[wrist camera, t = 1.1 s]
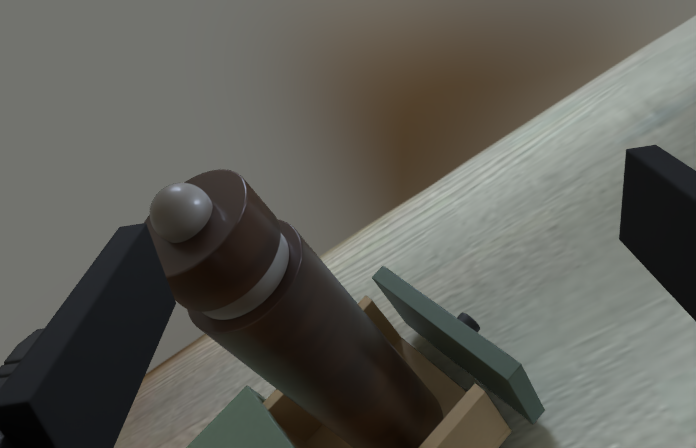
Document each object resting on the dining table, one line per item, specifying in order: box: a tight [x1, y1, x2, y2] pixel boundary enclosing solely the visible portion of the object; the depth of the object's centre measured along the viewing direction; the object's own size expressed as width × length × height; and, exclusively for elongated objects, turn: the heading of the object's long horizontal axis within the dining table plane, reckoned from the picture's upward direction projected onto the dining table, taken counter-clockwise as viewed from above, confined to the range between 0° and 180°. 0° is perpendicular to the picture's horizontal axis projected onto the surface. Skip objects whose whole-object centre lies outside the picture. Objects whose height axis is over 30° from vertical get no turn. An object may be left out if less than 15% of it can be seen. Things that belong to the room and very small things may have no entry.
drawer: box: [263, 266, 545, 448], centre depth 36 cm, size 15×12×7 cm
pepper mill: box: [144, 170, 444, 448], centre depth 29 cm, size 6×6×24 cm
